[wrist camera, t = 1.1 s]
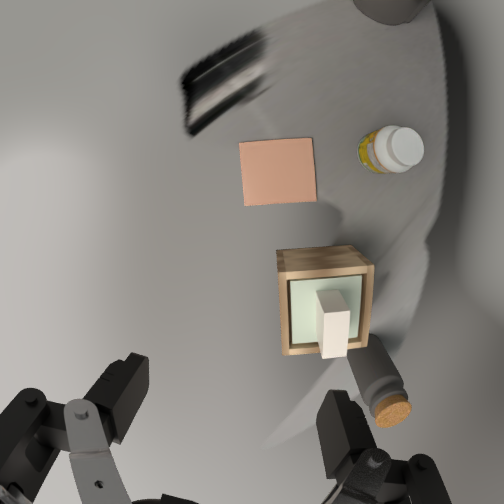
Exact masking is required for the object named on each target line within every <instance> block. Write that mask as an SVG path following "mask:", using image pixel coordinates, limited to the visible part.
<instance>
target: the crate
mask: <svg viewBox="0 0 504 504" xmlns="http://www.w3.org/2000/svg"><path fill="white" fill-rule="evenodd" d="M276 254H277V269H278V285H279V303H280V319H281V339H282V355H296V354H308V353H319V352H320V348H319V344H318V342H309V343H297V344H292V325H291V296H290V279H303V278H316V277H328V276H340V275H352V274H361V275H362V284H361V301H360V314H359V326H358V336H357V337H355V338H348V346H347V349H353V348H361V347H367V343H368V335H369V327H370V318H371V308H372V296H373V282H374V264H373V263H372V262H370V261H369V260H368V259H367V258H366V257H365V256H363V255H362V254H361V253H360V252H359V251H358V250H356V249H355V248H354V247H353V246H352V245H341V246H326V247H312V248H298V249H283V250H276Z"/></svg>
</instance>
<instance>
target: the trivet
mask: <svg viewBox="0 0 504 504" xmlns="http://www.w3.org/2000/svg"><path fill="white" fill-rule="evenodd" d="M239 149H240V160H241V171H242V181H243V192H244V203H245V206H251V205H263V204H276V203H292V202H309V201H317V198H316V183H315V170H314V158H313V147H312V138H299V139H280V140H266V141H254V142H244V143H239Z"/></svg>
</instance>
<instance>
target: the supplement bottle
mask: <svg viewBox="0 0 504 504" xmlns="http://www.w3.org/2000/svg"><path fill="white" fill-rule="evenodd" d="M423 154H424V145H423V142H422V139H421V137H420V136H419V134H418V133H417V132H416V131H414V130H413V129H411V128H407V127H399V126H395V125H391V126H386V127H384V128H381V129H379V130H377V131H375V132H372V133H370V134H368V135H366V136H364V137H363V138H362V139H361V141H360V142H359V144H358V147H357V155H358V159H359V161H360V163H361V165H362V166H363V167H364V168H365V169H366V170H368V171H370V172H372V173H377V174H381V173H402V172H405V171H407V170H409V169H410V168H411V167H412V166H413V165H416V164H418V163H419V162H420V161H421V159H422V157H423Z"/></svg>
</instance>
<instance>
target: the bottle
mask: <svg viewBox="0 0 504 504" xmlns="http://www.w3.org/2000/svg"><path fill="white" fill-rule="evenodd" d="M347 358H348V361H349V364H350V366H351V369H352V372H353V374H354V377H355V380H356V383H357V385H358V388H359V391H360V394H361V396H362V399H363V401H364V403H365V404H366V405H367V406H369V410H370V413H371V415H372V416H373V417H374V418H375V422H376V425H377V426H379V427H382V428H386V427H391V426H394V425H396V424H398V423H400V422H401V421H403V420H404V419H405V418H406V417H407V416H408V415H409V413H410V412H411V408H412V407H411V404H410V403H409V402H408V395H407V393H406V391H405V389H403V385H404V383H403V380H402V378H401V376H400V374H399V372H398V370H397V369H396V367H395V365H394V363H393V362H392V360H391V358H390V356H389V355H388V353H387V351H386V350H385V348H384V346H383V345H382V343H381V342H380V340H379V339H378V338H377V337H376V336H375V335H372V334H369V335H368V343H367V347H361V348H353V349H347Z"/></svg>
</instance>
